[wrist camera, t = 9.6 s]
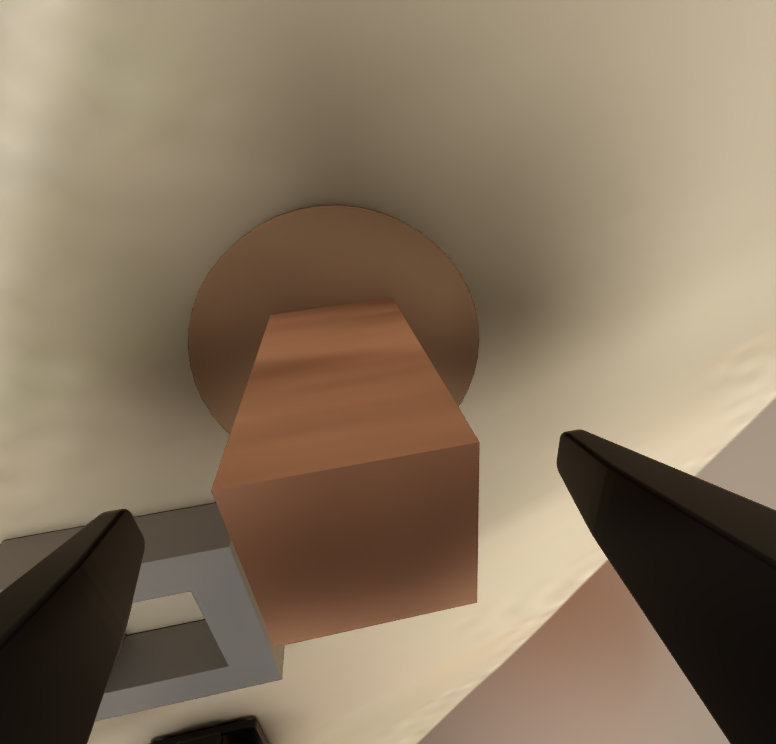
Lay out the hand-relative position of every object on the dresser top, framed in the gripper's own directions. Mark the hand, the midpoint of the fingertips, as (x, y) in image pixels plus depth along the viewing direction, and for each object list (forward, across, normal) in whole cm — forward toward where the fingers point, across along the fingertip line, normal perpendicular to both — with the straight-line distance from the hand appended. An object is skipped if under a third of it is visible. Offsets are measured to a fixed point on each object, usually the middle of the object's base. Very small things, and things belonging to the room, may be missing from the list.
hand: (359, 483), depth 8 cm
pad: (+7, 0, 0) cm, 7 cm away
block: (+6, 0, 0) cm, 6 cm away
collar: (+7, +10, +11) cm, 17 cm away
